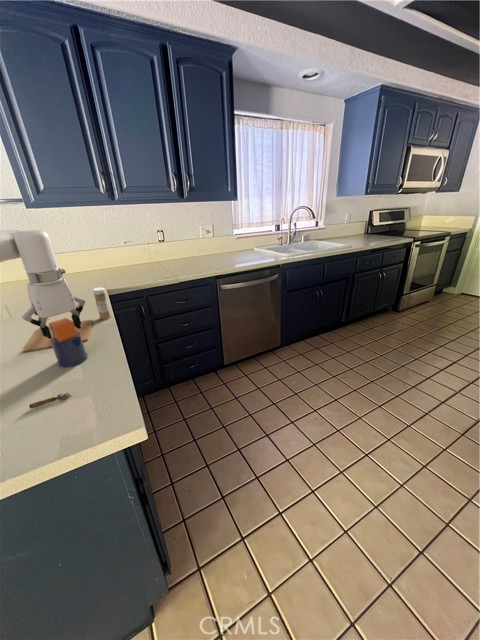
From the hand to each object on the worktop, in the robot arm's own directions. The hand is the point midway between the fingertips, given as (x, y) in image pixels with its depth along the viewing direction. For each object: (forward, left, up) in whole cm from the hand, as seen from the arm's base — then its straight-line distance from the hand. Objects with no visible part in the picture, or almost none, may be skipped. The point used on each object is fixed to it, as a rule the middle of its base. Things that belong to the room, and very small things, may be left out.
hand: (63, 332), depth 81 cm
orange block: (0, 0, -2) cm, 2 cm away
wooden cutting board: (-7, +23, -10) cm, 26 cm away
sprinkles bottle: (+8, +34, -10) cm, 36 cm away
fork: (-2, -21, -9) cm, 23 cm away
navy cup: (0, 0, -10) cm, 10 cm away
